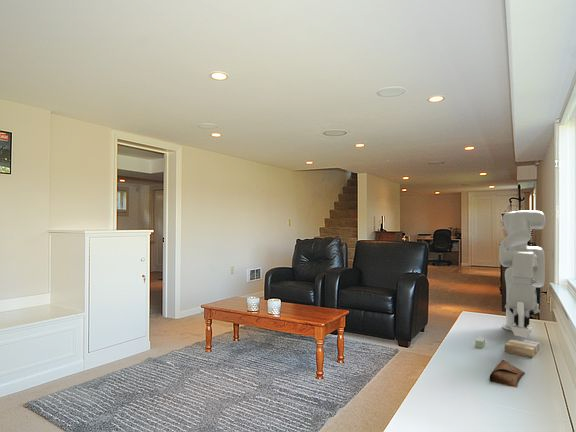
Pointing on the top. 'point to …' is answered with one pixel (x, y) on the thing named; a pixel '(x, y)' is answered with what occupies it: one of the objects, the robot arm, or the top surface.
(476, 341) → the brick sage
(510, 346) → the oak pedestal
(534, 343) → the brick slate
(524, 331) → the figurine
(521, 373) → the sunglasses case
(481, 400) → the top surface
